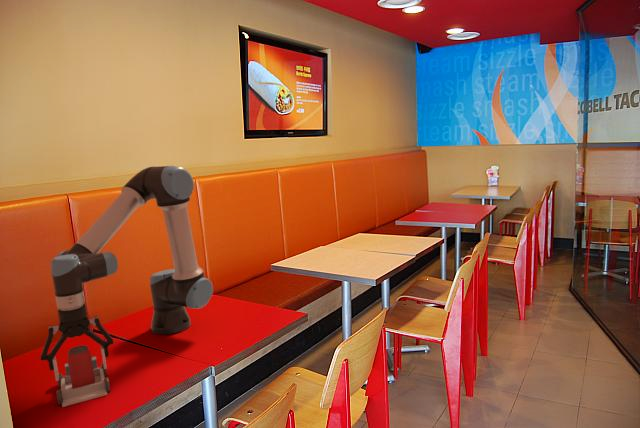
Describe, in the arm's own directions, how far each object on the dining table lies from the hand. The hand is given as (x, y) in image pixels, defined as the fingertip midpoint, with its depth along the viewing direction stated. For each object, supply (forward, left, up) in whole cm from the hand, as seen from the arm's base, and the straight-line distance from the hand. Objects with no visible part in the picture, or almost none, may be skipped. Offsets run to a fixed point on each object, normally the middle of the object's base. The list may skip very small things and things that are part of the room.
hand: (81, 373), depth 152 cm
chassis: (0, 0, -5) cm, 5 cm away
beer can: (0, 0, -4) cm, 4 cm away
